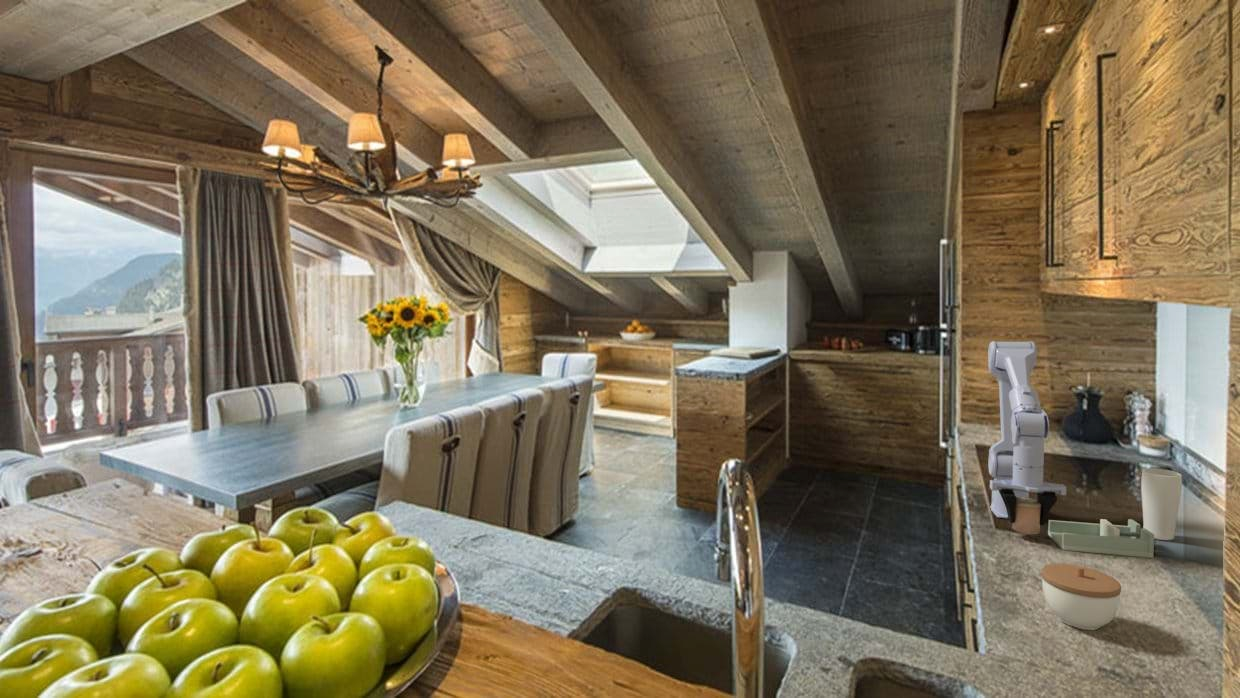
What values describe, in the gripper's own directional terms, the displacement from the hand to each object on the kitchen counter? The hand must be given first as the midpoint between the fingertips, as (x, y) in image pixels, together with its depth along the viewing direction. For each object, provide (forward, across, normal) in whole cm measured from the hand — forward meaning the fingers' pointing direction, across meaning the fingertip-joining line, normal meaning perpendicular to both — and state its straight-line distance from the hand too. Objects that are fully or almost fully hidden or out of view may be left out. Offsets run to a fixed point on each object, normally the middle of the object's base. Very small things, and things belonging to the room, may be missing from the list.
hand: (1025, 522), depth 137 cm
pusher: (+2, +19, -1) cm, 19 cm away
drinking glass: (+4, +28, +8) cm, 30 cm away
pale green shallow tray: (+3, +14, -1) cm, 14 cm away
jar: (+2, 0, 0) cm, 2 cm away
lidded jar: (+3, -4, -38) cm, 39 cm away
